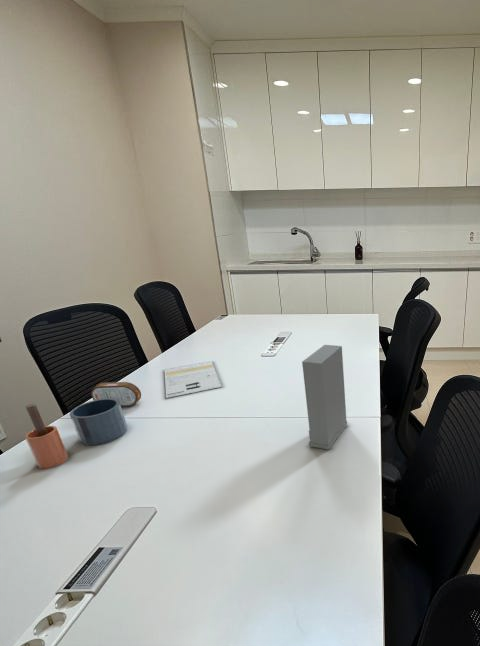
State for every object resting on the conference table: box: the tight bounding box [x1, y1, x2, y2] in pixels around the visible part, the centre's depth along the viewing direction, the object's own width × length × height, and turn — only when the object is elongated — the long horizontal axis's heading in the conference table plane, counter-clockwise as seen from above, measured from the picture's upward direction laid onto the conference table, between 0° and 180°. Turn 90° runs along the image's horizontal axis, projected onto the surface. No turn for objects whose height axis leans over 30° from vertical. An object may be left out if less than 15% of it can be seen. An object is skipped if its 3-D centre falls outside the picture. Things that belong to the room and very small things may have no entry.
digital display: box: [164, 361, 222, 399], centre depth 152 cm, size 18×1×30 cm
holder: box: [24, 425, 69, 469], centre depth 101 cm, size 6×6×9 cm
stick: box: [25, 403, 48, 437], centre depth 99 cm, size 2×2×16 cm
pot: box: [69, 398, 129, 446], centre depth 113 cm, size 12×12×9 cm
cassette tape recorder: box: [301, 344, 348, 451], centre depth 106 cm, size 14×6×25 cm, turn 162°
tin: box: [90, 381, 142, 408], centre depth 130 cm, size 15×3×8 cm, turn 94°
